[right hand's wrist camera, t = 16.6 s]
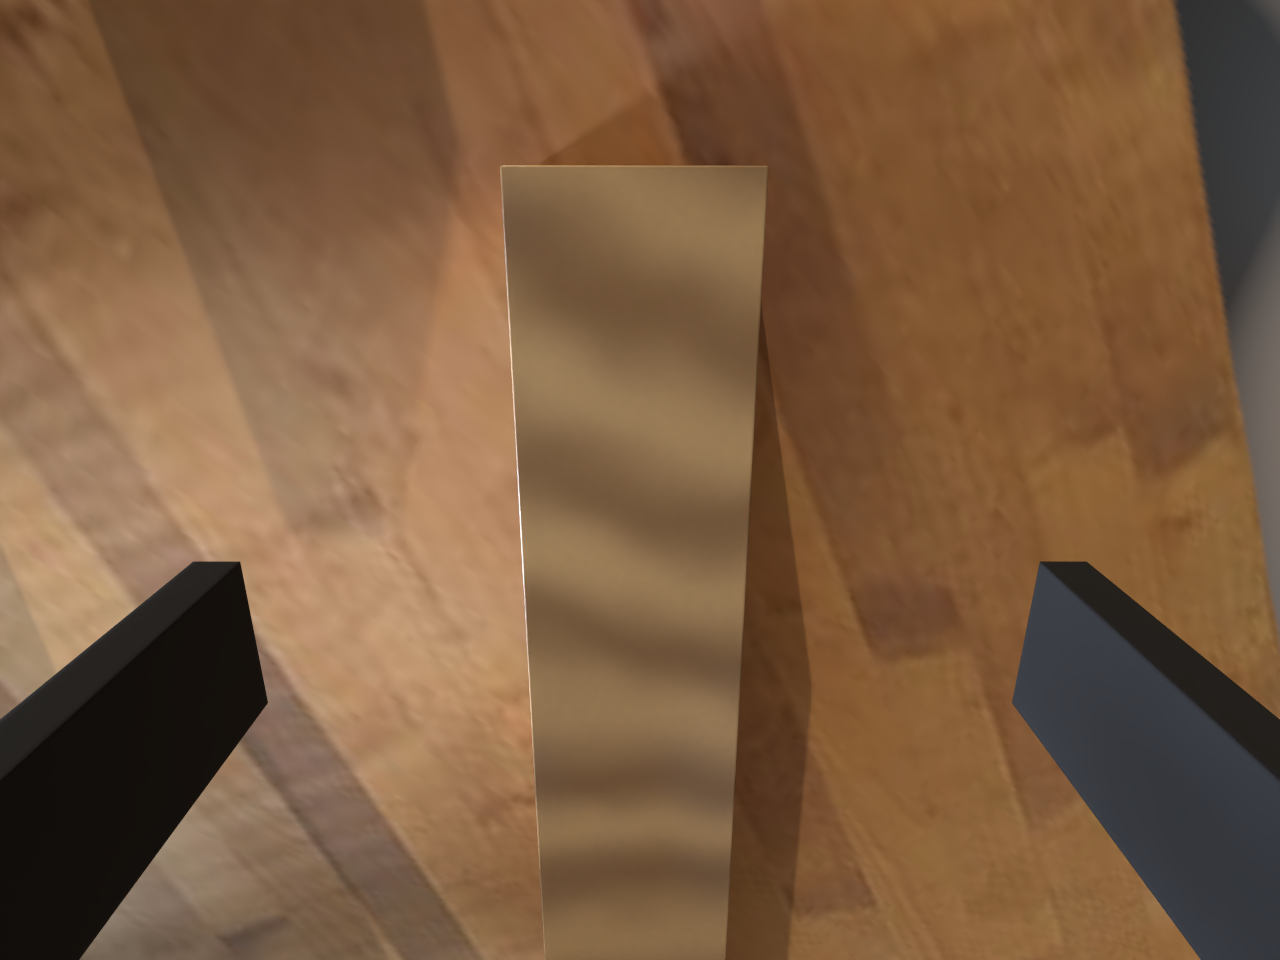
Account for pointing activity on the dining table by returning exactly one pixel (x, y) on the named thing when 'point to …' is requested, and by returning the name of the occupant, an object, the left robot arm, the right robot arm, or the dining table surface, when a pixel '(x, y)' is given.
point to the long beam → (634, 536)
